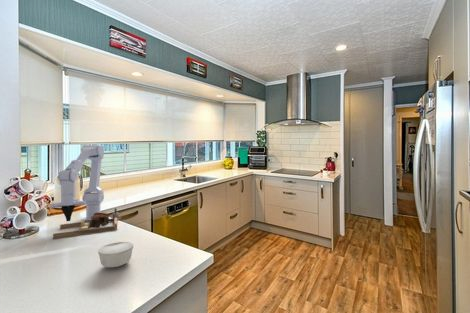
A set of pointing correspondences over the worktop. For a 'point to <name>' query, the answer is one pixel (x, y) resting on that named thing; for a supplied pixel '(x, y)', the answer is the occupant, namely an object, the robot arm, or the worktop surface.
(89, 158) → the robot arm
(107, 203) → the worktop surface
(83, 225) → the beige wooden block
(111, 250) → the ramekin
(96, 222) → the pottery mug
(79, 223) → the wooden frame
